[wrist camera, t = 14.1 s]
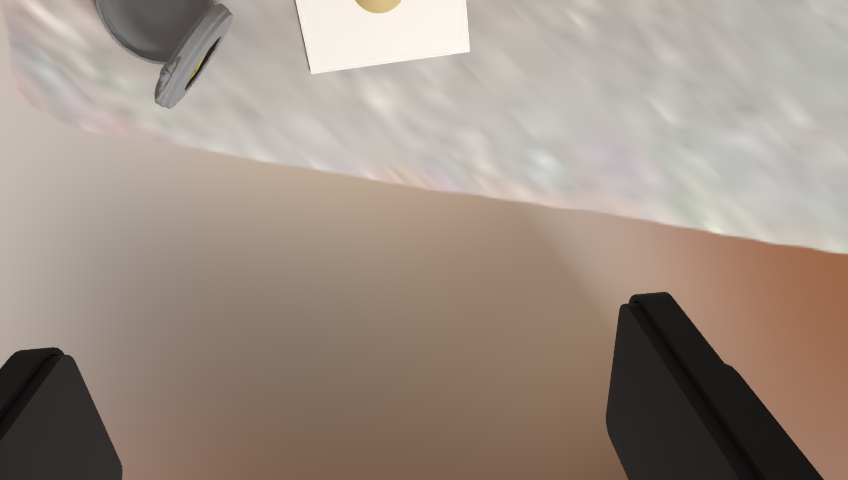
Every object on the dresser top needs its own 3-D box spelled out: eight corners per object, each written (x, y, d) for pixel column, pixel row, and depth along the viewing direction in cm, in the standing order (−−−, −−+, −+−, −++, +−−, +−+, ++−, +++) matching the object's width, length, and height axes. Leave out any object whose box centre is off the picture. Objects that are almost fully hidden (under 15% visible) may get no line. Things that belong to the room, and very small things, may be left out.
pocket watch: (93, -61, 34) (-7, -54, 25) (242, -46, 35) (197, -35, 26) (115, 81, 37) (35, 131, 29) (249, 91, 38) (211, 142, 30)
